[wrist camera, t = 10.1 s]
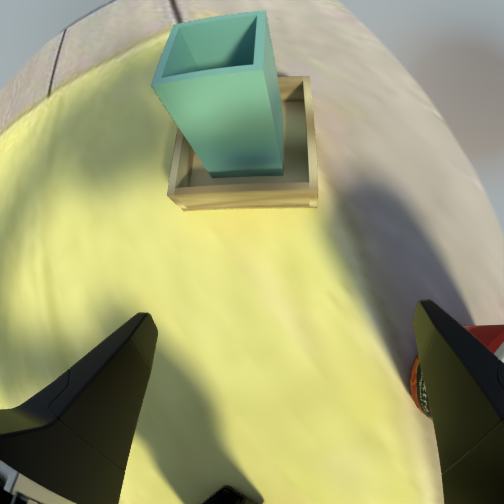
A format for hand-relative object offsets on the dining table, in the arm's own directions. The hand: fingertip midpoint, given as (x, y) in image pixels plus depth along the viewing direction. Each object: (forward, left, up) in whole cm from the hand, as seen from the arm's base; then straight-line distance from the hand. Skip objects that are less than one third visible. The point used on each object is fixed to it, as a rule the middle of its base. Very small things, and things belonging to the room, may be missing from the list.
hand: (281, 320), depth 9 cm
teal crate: (+9, +12, -13) cm, 20 cm away
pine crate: (+9, +12, -13) cm, 20 cm away
